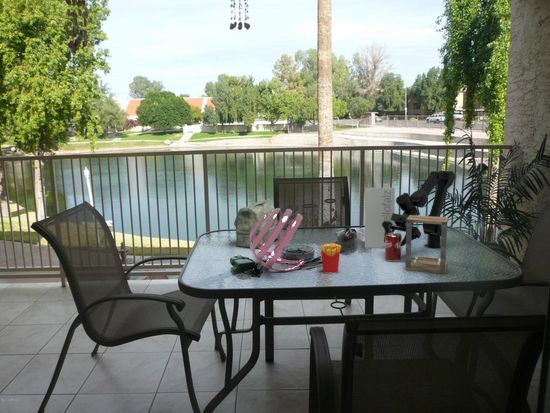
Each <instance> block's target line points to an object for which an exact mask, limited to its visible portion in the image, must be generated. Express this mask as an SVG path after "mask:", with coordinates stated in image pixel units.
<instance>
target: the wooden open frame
mask: <svg viewBox="0 0 550 413" xmlns="http://www.w3.org/2000/svg"><path fill="white" fill-rule="evenodd" d="M412 223H415V224H423V223H428V224H442V225H441V226H442V230H441V236H440V239H441V241H440V245H441V247H440V257H435V256H434V257H433V256H422V255H417V256H415V257H412V241H411V239H412V226H413V225H412ZM448 223H449V217H448V216H440V217H433V216H428V215H416V216H414V215H409V217H408V218H407V219H406V232H405V235H406V244H405V263H404V265H405V269H404V270H405V271H411V272H421V273H422V272H423V273H431V274H432V273H433V274H441V275H442V274H443V275H446V271H447V266H448V260H447V243H448V242H447V239H448V237H447V236H448Z"/></svg>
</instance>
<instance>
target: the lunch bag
mask: <svg viewBox="0 0 550 413" xmlns="http://www.w3.org/2000/svg"><path fill="white" fill-rule="evenodd" d="M275 209H276V208H275V207H274V205H273V203H272V202H271V201H269V200H268V199H262V200H261V199H259V200H258V201H256V202H254V203H252V204H250V205H248V206H244V207H241V208H240V209H238V212H237V213H236V214H237V215H236V216H235V219H234V222H233V226H235V236H236V241H235V242H236V243H235V244H236V246H238V247H242V248H250V239H249V236H250V231H251V229H252V228H253V227H254V228H255V226H256V224H257V223H258V221H259V220H260V218H261V217H262V215H263V214H264V213H265V212H267V211H269V212H268V214H267V216H266V217H265V219H264V220H263V222H262V223H261V225H260V226H259V228H258V230H257V231H256V233H255V236H256V237H257V236H258V234H259V233H260V231H261V230H262V228H263V227H264V225H265V224H266V222H267V221H268V219H269V217H270V216H271V214H272V213H273V211H274V210H275ZM278 219H279V218H278V215H277V216H276V217H275V219H274V220H273V222H272V224H271V225H270V227H269V228H268V230H267V231H266V233H265V234H264V236H263V237H262V239H261V241H260V244H261V245H263V244H264V243H265V241H266V240H267V238H268V237H269V235H270V233H271V232H272V230H273V229H274V227H275V226H276V224H277V223H278V221H279V220H278ZM279 237H280V234H279V235H278V236H277V238H276V239H275V240H277V239H279ZM253 242H254V239H253V237H252V244H253ZM255 249H259V248H258V247H256V248H255Z"/></svg>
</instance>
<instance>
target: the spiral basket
mask: <svg viewBox="0 0 550 413" xmlns="http://www.w3.org/2000/svg"><path fill="white" fill-rule="evenodd" d="M280 211H281V208H279V207H276V208H275V210H274V211H273V213H272V214H271V216H270V217H269V219H268V221H267V222H266V224H265V225H264V227H263V228H262V230H261V231H260V233H259V234H258V236H257V237H256V236H255V233H256V231H257V230H258V228H259V226H260V225H261V223H262V222H263V220H264V219H265V217H266V216H267V214H268V212H269V211H267V212H265V213H264V214H263V215H262V217H261V218H260V220H259V221H258V223H257V224H256V226H255V228H254V227H253V228H252V229H251V231H250V236H249V239H250V247H249V248H250V251H251V253H252V254H253V256H254V258H255V260H256V262H258V263H260V265H262V266H263V267H264V268H266V269H267V270H271V271H275V272H289V271H290V272H291V271H293V270H295V269H297V268H299V267H300V266H302V265H303V264H304V262H305V259H303V258H302V259H298V260H288V259H284V258H282V257H281V255H282V254H283V252H284V251H285V249H286V247H287V246H288V245H289V243H290V241H291V240H292V238H293V236H294V235H295V233H296V232H297V230H298V228H299V227H300V224H301V223H302V221H303V219H304V218H303V215H302V214H300V213H297V214H296V215H295V217H294V218H293V219H292V221H291V222H290V224H289V225H288V226H287V228H286V229H285V230H284V233H282V235H281V237H280V238H279V240H278V242H277V243H276V245H275V246H274V248H273V250H272V251H269V250H270V248H271V247H272V245H273V244H274V243H275V241H276V240H277V239H278V238H277V236H278V235H279V236H280V233H281V232H282V230H283V229H284V227H285V225H286V223H288V222H287V221H288V220H290V217H291V215H292V213H293V209H291V208H286V210H285V211H284V212H283V214H282V215H281V216H280V218H279V220H278V223H277V224H276V226H275V227H274V229H273V230H272V232H271V233H270V235H269V237H268V238H267V240H266V241H265V243H264V244H263V245H261V244H260V241H261V239H262V237H263V236H264V234H265V233H266V231H267V230H268V228H269V227H270V225H271V224H272V222H273V220H274V219H275V217H276V216H277V217H278V215H279V212H280ZM252 237H253V239H254V242H253V244H252ZM276 238H277V239H276ZM256 247H258V248H256ZM255 249H258V250H259V251H258V253H256V251H255ZM265 256H267V257H266V258H267V260H266V261H265V262H264V261H263V258H264V257H265ZM276 262H277V263H282V264H286V263H288V264H289V265H291V264H292V265H293V264H297V265H295V266H292V267H290V268H281V269H280V268H276V267H274V265H275V264H276Z"/></svg>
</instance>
